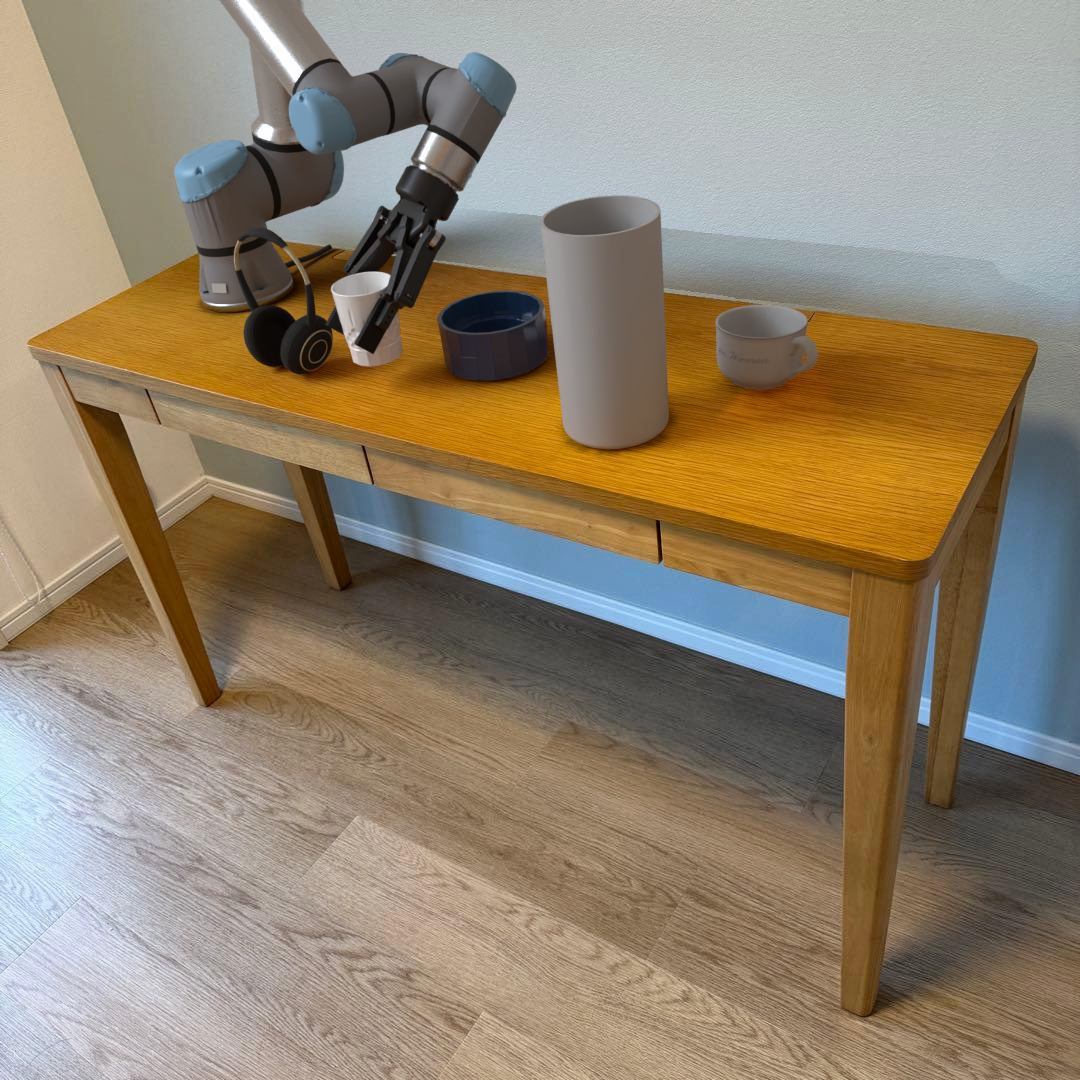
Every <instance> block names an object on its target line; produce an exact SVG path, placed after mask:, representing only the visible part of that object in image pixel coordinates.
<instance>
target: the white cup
mask: <svg viewBox="0 0 1080 1080" xmlns="http://www.w3.org/2000/svg"><path fill="white" fill-rule="evenodd" d="M390 275H391V274H390V273H387V272H383V271H378V272H363V273H357V274H353V275H350V276H348V275H347V276H345V277H341V278H340V279H338V280H337V281H335V282H334V283H332V285H331V287H330V292H331V294H332V299H333V302H334V306H335V305H336V308H337V312H338V316H339V319H340V323H341V325H342V329H343V332H344V335H343V336H344V338H345V342H346V343H347V346H348V348H349V351H350V355H351V358H352V362H353V363H354V364H355V365H358V366H360V367H367V368H368V367H369V368H371V367H380V366H384V365H387V364H389V363H393V362H394V361H396V360H398V359H399V358H400V357H401V355H402V354H403V352H404V348H403V342H402V337H401V336H402V335H401V324H400V323H401V321H400V315H399V311H398V312H397V313H396V315H395V317H394V319H393V320H392V323H391V324H390V326H389V328H388V329H387V330H386V332H385V334H384V336H383V338H382V339H381V341H380V343H379V345H378V347H377V349H376V351H375V352H374V354H372V353H370V352H368V351H366V350H364V349H362V348H361V347H359V346H357V345H355V344H354V343H355V341H356V339H357V337H358V336H359V334H360V332H361V330H362V328H363V326H364V324H365V323H366V321H367V319H368V317H369V315H370V313H371V311H372V310H373V308H374V306H375V304H376V303H377V301H378V299H379V298H380V294H382V293H386V290H387V286H388V282H389V279H390ZM381 299H382V298H381ZM383 300H384V299H383ZM384 301H385V300H384Z"/></svg>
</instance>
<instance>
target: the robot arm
mask: <svg viewBox="0 0 1080 1080" xmlns="http://www.w3.org/2000/svg"><path fill="white" fill-rule="evenodd" d="M218 1H219V2H220V3H221V5H222V6H223V8H224V9H225V10H226V11H227V13H228V14H229V15H230V17H231V18H232V19H233V21H234V22H235V23H236V25H237V27H239V29H240V30H241V32H242V33H243V34H244V35H245V37H246V38H247V40H248V44H249V53H250V60H251V67H252V73H253V81H254V82H253V83H254V87H255V94H256V102H257V103H256V104H257V109H258V110H257V111H258V116H257V117H256V118H255V119H254V120H253V121H252V123H251V125H250V126H251V127H250V129H251V137H252V144H248V145H245V144H244V143H243V142H242V141H241V140H238V139H224V140H220V141H218V142H211V143H208V144H205V145H203V146H200V147H198V148H195V149H193V150H192V151H189V152H188V153H186V154H185V155H184V156H182V157H181V158H180V159H179V160H178V162H177V163H176V164H175V167H174V170H173V171H174V173H173V174H174V178H175V183H176V186H177V191H178V193H177V194H178V198H179V200H180V201H181V204H182V207H183V210H184V213H185V216H186V219H187V222H188V226H189V228H190V231H191V234H192V238H193V241H194V243H195V246H196V250H197V253H198V257H199V285H198V287H199V289H198V290H199V297H200V300H201V303H202V306H203V307H204V308H206V310H209V311H212V312H217V313H238V312H244V311H245V312H246V311H251V310H250V308H249V306H248V303H247V301H246V299H245V297H244V294H243V292H242V289H241V287H240V284H239V281H238V278H237V275H236V272H235V270H236V269H235V264H234V251H235V247H236V244H237V242H238V238H239V236H240V235H241V233H243V232H244V231H246V230H248V229H251V228H266V229H268V226H267V222H269V221H272V220H275V219H278V218H281V217H283V216H287V215H289V214H292V213H295V212H298V211H301V210H304V209H306V208H309V207H311V208H313V207H316V206H318V205H320V204H321V203H323V202H325V201H327V200H330V199H332V198H333V197H335V196H336V195H337V194H338V192H339V191H340V189H341V187H342V185H343V182H344V177H345V161H344V156H343V151H347V150H349V149H350V148H352V147H355V146H357V145H360V144H363V143H366V142H369V141H372V140H375V139H377V138H381V137H385V136H389V135H393V134H395V133H398V132H402V131H405V130H408V129H411V128H413V127H417V126H420V125H425V126H427V128H426V129H425V131H424V133H423V134H422V137H421V138H420V140H419V142H418V144H417V146H416V148H415V149H414V151H413V153H412V155H411V157H410V161H411V163H412V165H411V164H409V165H408V166H406V167H405V168H404V170H403V172H402V174H401V175H400V178H399V180H398V181H397V183H396V186H395V193H396V194H397V195H398V196H399V201H398V202H397V203H396V204H395V206H393V208H392V209H389V208H387V207H385V206H384V205H380V206H379V207H378V208H377V210H376V213H375V215H374V218H373V221H372V222H371V224H370V225H369V227H368V228H367V230H366V232H365V233H364V235H363V236H362V238H361V240H360V241H359V242H358V244H357V246H355V248H354V251H353V252H352V254H351V255H350V257H349V258H348V260H347V261H346V262H345V265H344V266H343V269H342V270H343V272H345V273H346V275H347V276H350V275H353V274H357V273H363V272H380V270H381V269H382V268H383V267H384V266H385V264H386V263H387V262H388V261H389V260H390V259H391V258H392V256H393V255H394V254H395V253H396V254H395V258H394V262H393V265H392V269H391V271H390V274H389V275H390V279H389V282H388V286H387V290H386V293H382V294H380V298H379V299H378V301H377V303H376V304H375V306H374V308H373V310H372V311H371V313H370V315H369V317H368V319H367V321H366V323H365V324H364V326H363V328H362V330H361V332H360V334H359V336H358V337H357V339H356V341H355V343H354V344H355V345H357V346H359V347H361V348H362V349H364V350H366V351H368V352H370V353H372V354H374V352H375V351H376V349H377V347H378V345H379V343H380V341H381V339H382V338H383V336H384V334H385V332H386V330H387V329H388V328H389V326H390V324H391V323H392V320H393V319H394V317H395V315H396V313H397V312H398V313H399V310H402V309H404V308H408V309H412V308H414V306H415V304H416V302H417V300H418V297H419V295H420V293H421V290H422V289H423V286H424V283H425V281H426V280H427V277H428V275H429V272H430V269H431V267H432V265H433V263H434V261H435V258H436V256H437V254H438V252H439V251H440V249H441V248H442V246H443V245H444V243H445V242H446V241H447V240H446V239H447V236H446V235H445V234H443V233H442V232H441V231H439V230H437V229H436V228H437V224H438V221H441V222H447V221H448V220H449V218H450V216H451V215H452V213H453V211H454V209H455V208H456V206H457V203H458V201H459V200H460V198H459V194H458V193H459V192H464V190H465V188H466V186H467V184H468V183H469V181H470V180H471V178H472V176H473V173H474V171H475V169H476V167H477V166H478V164H479V163H480V161H481V159H482V158H483V155H484V154H485V152H486V150H487V148H488V146H489V144H490V142H491V141H492V139H493V137H494V135H495V133H496V131H498V129H499V126H500V125H501V123H502V122H503V120H504V118H505V117H507V112H508V111H509V108H510V106H511V104H512V101H513V99H514V97H515V95H516V92H517V81H516V80H515V78H514V77H513V75H512V73H510V72H509V71H508V69H506V68H505V67H503V65H502V64H500V63H499V62H497V61H495V60H494V59H492V58H491V57H489V56H487V55H485V54H483V53H480V52H478V51H477V52H476V51H474V52H470V53H467V54H466V55H465V57H464V58H463V60H462V61H461V62H460V63H459V64H458V68H456V67H450V66H447V65H445V64H443V63H439V62H436V61H434V60H431V59H428V58H427V57H424V56H422V55H418V54H416V53H415V54H414V53H406V52H396V53H393V54H391V55H389V56H388V57H387V59H386V60H385V61H384V62H383V63H381V64H380V66H379V68H378V69H376V70H373V71H369V72H364V73H361V74H357V75H351V73H350V72H349V70H347V68H346V67H344V65H343V64H342V62H341V61H340V59H339V58H338V56H336V54H335V53H334V51H333V50H332V49H331V47H330V46H329V45H328V43H327V42H326V41H325V40H324V38H323V37H322V36H321V34H320V32H319V31H318V30H317V28H316V27H315V26H314V25H313V24H312V22H311V21H310V20H309V19H308V17H307V16H306V14H305V5H304V3H305V2H304V0H218ZM332 249H333V246H332V244H327V245H325V246H323V247H322V248H320V249H318V250H316V251H314V252H312V253H309V254H306V255H304V256H301V257H297V258H298V260H299V261H300V263H301V264H303V263H307V262H309V261H311V260H315V259H316V258H318V257H321V256H322V255H324V254H326V253H327V252H329V251H331V250H332ZM238 258H239V266H240V269H241V270H242V272H243V275H244V277H245V280H246V282H247V284H248V286H249V288H250V290H251V292H252V294H253V296H254V298H255V300H256V301H257V303H258V305H259V307H262V306H266V305H272V304H273V303H275V302H278V301H280V300H282V299H283V298H285V297H286V296H287V295H289V294H290V293H291V292H292V291H293V289H294V288H295V284H294V280H293V276H292V274H291V272H290V270H289V269H290V268H293V267H295V266H297V265H296V264H295V262H294V261H293V259H292V260H290V261H287V262H284V260H283V259H282V257H281V255H280V253H279V251H277V249H276V247H275V245H274V243H272V242H271V241H268V240H266V239H264V238H259V237H253V236H250V237H247V238H246V239H245V240H244V241H242V243H241V245H240V248H239V255H238ZM381 298H382V299H381ZM383 299H384V300H385V301H384V300H383ZM326 321H327V322H326V324H325V325H326V326H328V327H330V328H331V329H332V330H334V331H336V332H337V333H339V334H341V335H343V336H345V335H344V332H343V329H342V325H341V323H340V319H339V316H338V312H337V308H336V305H335V304H334V307H333V309H332V311H331V313H330V314H329V316H328V319H326Z"/></svg>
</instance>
